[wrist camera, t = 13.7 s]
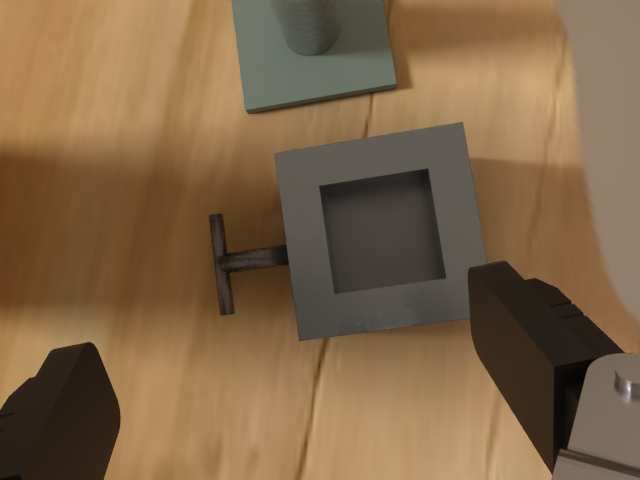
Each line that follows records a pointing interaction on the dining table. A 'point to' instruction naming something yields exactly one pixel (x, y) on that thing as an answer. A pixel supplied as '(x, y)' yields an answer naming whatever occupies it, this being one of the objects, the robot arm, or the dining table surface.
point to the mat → (312, 57)
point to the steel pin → (307, 24)
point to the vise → (371, 233)
